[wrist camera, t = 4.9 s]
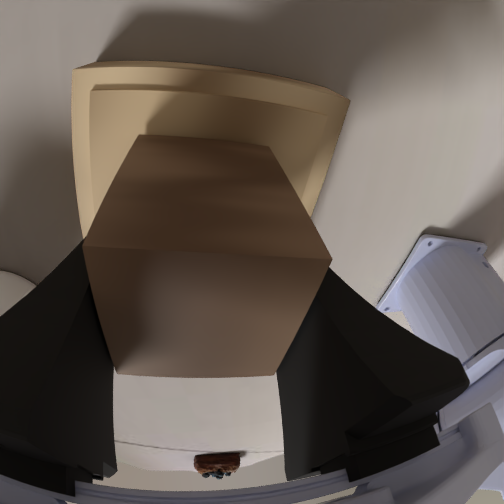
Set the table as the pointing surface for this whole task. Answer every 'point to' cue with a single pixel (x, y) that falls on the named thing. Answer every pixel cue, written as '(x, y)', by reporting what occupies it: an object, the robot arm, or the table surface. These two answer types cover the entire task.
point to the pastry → (217, 464)
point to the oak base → (198, 119)
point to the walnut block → (202, 260)
